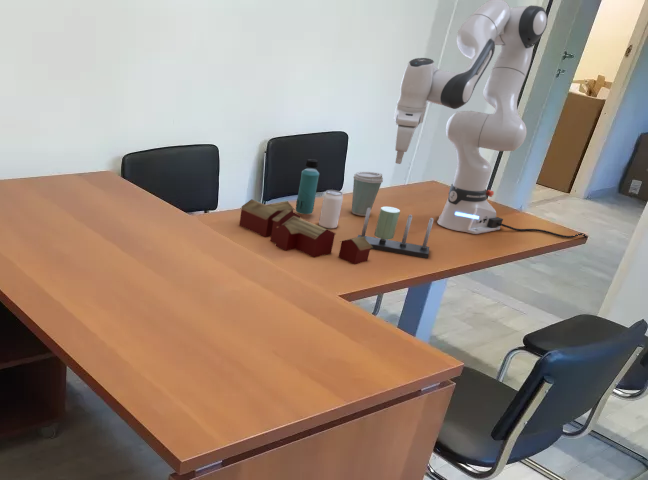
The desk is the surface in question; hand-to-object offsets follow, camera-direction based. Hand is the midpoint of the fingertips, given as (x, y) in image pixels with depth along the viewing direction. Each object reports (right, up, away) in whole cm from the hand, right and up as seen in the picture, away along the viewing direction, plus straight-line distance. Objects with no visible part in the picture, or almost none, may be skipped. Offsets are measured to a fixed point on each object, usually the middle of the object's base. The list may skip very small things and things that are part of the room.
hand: (398, 159), depth 228 cm
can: (-18, -17, +20) cm, 32 cm away
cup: (-4, -24, +3) cm, 25 cm away
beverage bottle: (-25, -12, +29) cm, 40 cm away
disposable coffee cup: (-2, -9, +36) cm, 37 cm away
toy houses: (-31, -26, +4) cm, 41 cm away
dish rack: (-1, -28, +4) cm, 28 cm away
